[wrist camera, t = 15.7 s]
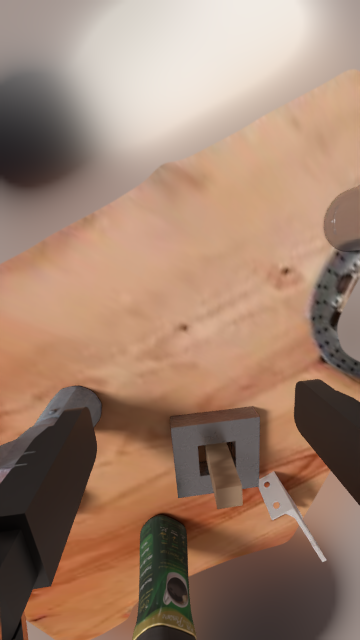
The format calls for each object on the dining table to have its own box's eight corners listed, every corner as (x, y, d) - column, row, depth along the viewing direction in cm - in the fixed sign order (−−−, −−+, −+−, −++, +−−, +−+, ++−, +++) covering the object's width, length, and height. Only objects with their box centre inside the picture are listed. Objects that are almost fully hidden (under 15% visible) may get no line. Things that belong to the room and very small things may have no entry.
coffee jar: (134, 531, 47) (117, 695, 29) (156, 507, 46) (153, 663, 28) (170, 547, 49) (174, 710, 31) (192, 525, 48) (209, 681, 30)
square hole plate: (252, 406, 42) (259, 416, 39) (252, 472, 45) (259, 486, 43) (170, 416, 41) (170, 428, 38) (177, 482, 45) (178, 498, 42)
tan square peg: (224, 435, 43) (241, 485, 33) (224, 452, 44) (242, 505, 34) (204, 438, 43) (216, 489, 33) (205, 455, 44) (217, 509, 34)
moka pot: (76, 361, 37) (-20, 467, 17) (125, 427, 41) (91, 574, 21) (29, 387, 37) (-116, 519, 18) (81, 450, 41) (9, 614, 22)
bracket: (254, 476, 47) (274, 525, 37) (271, 467, 47) (296, 513, 37) (279, 514, 48) (304, 571, 39) (296, 505, 48) (326, 560, 38)
